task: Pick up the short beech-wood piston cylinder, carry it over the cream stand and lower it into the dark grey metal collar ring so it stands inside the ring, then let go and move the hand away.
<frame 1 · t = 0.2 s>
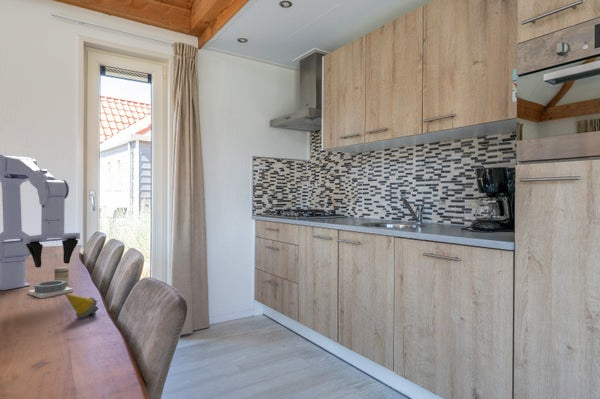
hand: (52, 265, 108), 10 cm above the table, fingers open, 7 cm apart
collar stand: (50, 292, 114), on the table
cone: (83, 318, 91), on the table
piston: (61, 285, 124), on the table
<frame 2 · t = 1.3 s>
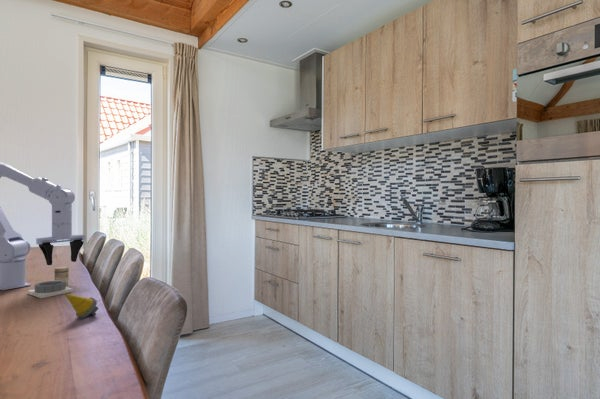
hand: (61, 263, 124), 8 cm above the table, fingers open, 7 cm apart
nothing on the table moved.
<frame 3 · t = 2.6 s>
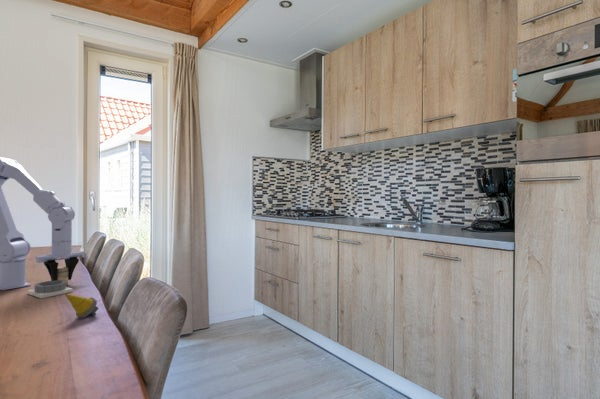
hand: (61, 280, 124), 2 cm above the table, fingers closed on piston, 4 cm apart
piston: (61, 285, 124), on the table, touching gripper
everything else where it was.
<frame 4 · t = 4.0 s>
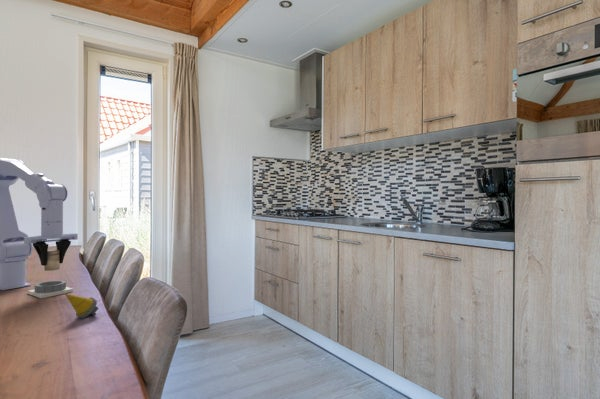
hand: (52, 264, 115), 9 cm above the table, fingers closed on piston, 4 cm apart
piston: (52, 269, 115), point 7 cm above the table, touching gripper
everything else where it was.
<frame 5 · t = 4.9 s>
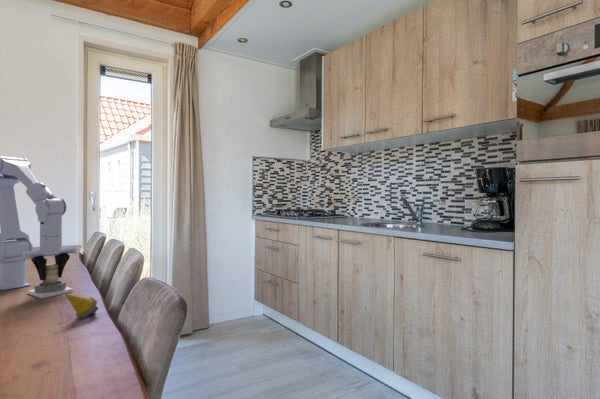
hand: (50, 278, 114), 5 cm above the table, fingers closed on piston, 4 cm apart
piston: (50, 283, 114), point 3 cm above the table, touching gripper
everything else where it was.
when the fingers open (4 cm above the table, at t = 5.5 s): piston drops 1 cm, resting on collar stand.
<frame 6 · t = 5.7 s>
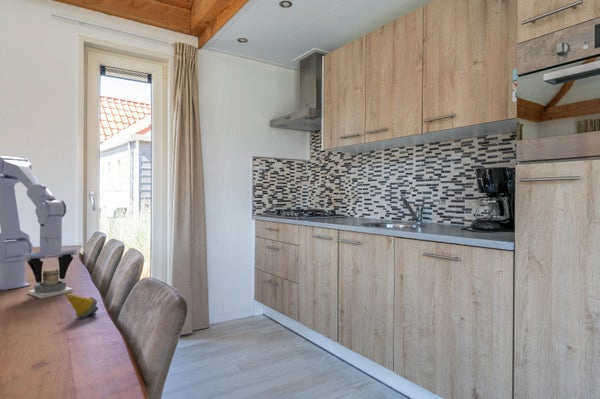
hand: (50, 280, 114), 4 cm above the table, fingers open, 6 cm apart
piston: (50, 289, 114), point 1 cm above the table, touching collar stand
everything else where it was.
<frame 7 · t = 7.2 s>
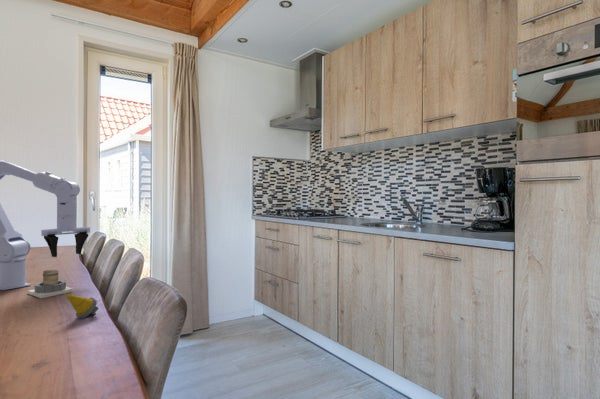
hand: (66, 255, 124), 10 cm above the table, fingers open, 7 cm apart
nothing on the table moved.
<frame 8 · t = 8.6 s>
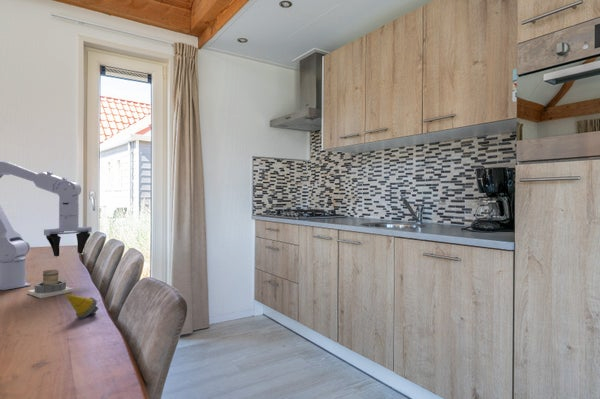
hand: (68, 254, 125), 10 cm above the table, fingers open, 7 cm apart
nothing on the table moved.
at the end: piston 0.1 cm off-centre on the collar stand, point 1.0 cm above the collar stand's base; piston tilted 0°; the gripper is holding nothing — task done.
